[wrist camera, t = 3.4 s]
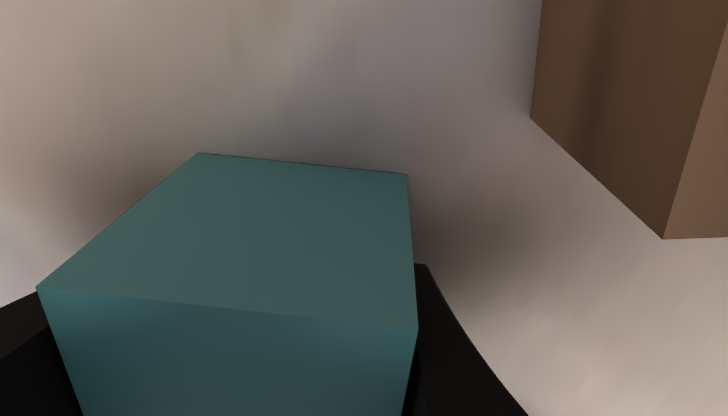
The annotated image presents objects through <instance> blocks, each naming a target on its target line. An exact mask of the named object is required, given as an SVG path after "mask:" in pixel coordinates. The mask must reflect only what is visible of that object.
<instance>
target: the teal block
mask: <svg viewBox="0 0 728 416" xmlns="http://www.w3.org/2000/svg"><path fill="white" fill-rule="evenodd" d="M35 288H36V290H37V293H38V296H39V298H40V301H41V303H42V306H43V309H44V311H45V314H46V317H47V319H48V322H49V325H50V327H51V330H52V333H53V335H54V338H55V341H56V343H57V346H58V349H59V351H60V354H61V357H62V359H63V362H64V365H65V367H66V370H67V373H68V375H69V378H70V381H71V383H72V386H73V389H74V391H75V394H76V397H77V399H78V402H79V405H80V407H81V410H82V413H83V415H84V416H401V413H402V408H403V403H404V398H405V393H406V388H407V383H408V378H409V373H410V368H411V363H412V359H413V354H414V349H415V344H416V339H417V334H418V316H417V303H416V290H415V277H414V264H413V250H412V237H411V224H410V211H409V198H408V185H407V175H406V174H396V173H387V172H377V171H367V170H358V169H348V168H339V167H329V166H320V165H310V164H301V163H291V162H281V161H272V160H262V159H253V158H243V157H234V156H224V155H215V154H205V153H197V154H196V155H194V156H193V157H192V158H191V159H190V160H188V161H187V162H186V163H185V164H183V165H182V166H181V167H180V168H179V169H177V170H176V171H175V172H174V173H173V174H171V175H170V176H169V177H168V178H167V179H165V180H164V181H163V182H162V183H160V184H159V185H158V186H157V187H156V188H154V189H153V190H152V191H151V192H150V193H148V194H147V195H146V196H145V197H143V198H142V199H141V200H140V201H139V202H137V203H136V204H135V205H134V206H133V207H131V208H130V209H129V210H128V211H126V212H125V213H124V214H123V215H122V216H120V217H119V218H118V219H117V220H116V221H114V222H113V223H112V224H111V225H110V226H108V227H107V228H106V229H105V230H103V231H102V232H101V233H100V234H99V235H97V236H96V237H95V238H94V239H93V240H91V241H90V242H89V243H88V244H86V245H85V246H84V247H83V248H82V249H80V250H79V251H78V252H77V253H76V254H74V255H73V256H72V257H71V258H70V259H68V260H67V261H66V262H65V263H63V264H62V265H61V266H60V267H59V268H57V269H56V270H55V271H54V272H53V273H51V274H50V275H49V276H48V277H46V278H45V279H44V280H43V281H42V282H40V283H39V284H38V285H37V286H36V287H35Z"/></svg>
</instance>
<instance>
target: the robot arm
mask: <svg viewBox="0 0 728 416" xmlns="http://www.w3.org/2000/svg"><path fill="white" fill-rule="evenodd" d="M413 264H414V277H415V290H416V303H417V316H418V334H417V339H416V344H415V349H414V354H413V359H412V363H411V368H410V373H409V378H408V383H407V388H406V393H405V398H404V403H403V408H402V413H401V416H528V414H527V413H526V412H525V411H524V410H523V408H522V407H521V406H520V405H519V404H518V402H517V401H516V400H515V399H514V398H513V397H512V395H511V394H510V393H509V392H508V390H507V389H506V388H505V387H504V385H503V384H502V383H501V382H500V380H499V379H498V378H497V376H496V375H495V374H494V372H493V371H492V370H491V368H490V367H489V366H488V364H487V363H486V362H485V360H484V359H483V357H482V356H481V355H480V353H479V352H478V351H477V349H476V348H475V346H474V345H473V343H472V342H471V340H470V339H469V337H468V336H467V334H466V333H465V331H464V330H463V328H462V326H461V325H460V323H459V322H458V320H457V319H456V317H455V316H454V314H453V312H452V311H451V309H450V307H449V306H448V304H447V302H446V300H445V299H444V297H443V295H442V293H441V292H440V290H439V288H438V286H437V284H436V282H435V280H434V278H433V276H432V274H431V272H430V270H429V269H428V267H427V266H426V265H425V264H416V263H413ZM0 416H84V415H83V413H82V410H81V407H80V405H79V402H78V399H77V397H76V394H75V391H74V389H73V386H72V383H71V381H70V378H69V375H68V373H67V370H66V367H65V365H64V362H63V359H62V357H61V354H60V351H59V349H58V346H57V343H56V341H55V338H54V335H53V333H52V330H51V327H50V325H49V322H48V319H47V317H46V314H45V311H44V309H43V306H42V303H41V301H40V298H39V296H38V293H37V291H36V292H34V293H32V294H29V295H27V296H25V297H23V298H21V299H19V300H16V301H14V302H12V303H10V304H8V305H6V306H3V307H1V308H0Z"/></svg>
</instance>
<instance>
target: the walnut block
mask: <svg viewBox="0 0 728 416" xmlns="http://www.w3.org/2000/svg"><path fill="white" fill-rule="evenodd" d="M530 119H532V120H533V121H534V122H535V123H536V124H537V125H538V126H539V127H540V128H541V129H542V130H544V131H545V132H546V133H547V134H548V135H549V136H550V137H551V138H552V139H553V140H554V141H556V142H557V143H558V144H559V145H560V146H561V147H562V148H563V149H564V150H565V151H566V152H568V153H569V154H570V155H571V156H572V157H573V158H574V159H575V160H576V161H577V162H578V163H580V164H581V165H582V166H583V167H584V168H585V169H586V170H587V171H588V172H589V173H590V174H592V175H593V176H594V177H595V178H596V179H597V180H598V181H599V182H600V183H601V184H602V185H604V186H605V187H606V188H607V189H608V190H609V191H610V192H611V193H612V194H613V195H614V196H616V197H617V198H618V199H619V200H620V201H621V202H622V203H623V204H624V205H625V206H626V207H628V208H629V209H630V210H631V211H632V212H633V213H634V214H635V215H636V216H637V217H638V218H640V219H641V220H642V221H643V222H644V223H645V224H646V225H647V226H648V227H649V228H650V229H652V230H653V231H654V232H655V233H656V234H657V235H658V236H659V237H660V238H661V239H687V238H714V237H728V0H543V1H542V11H541V20H540V30H539V40H538V49H537V59H536V68H535V78H534V87H533V97H532V107H531V116H530Z"/></svg>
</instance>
